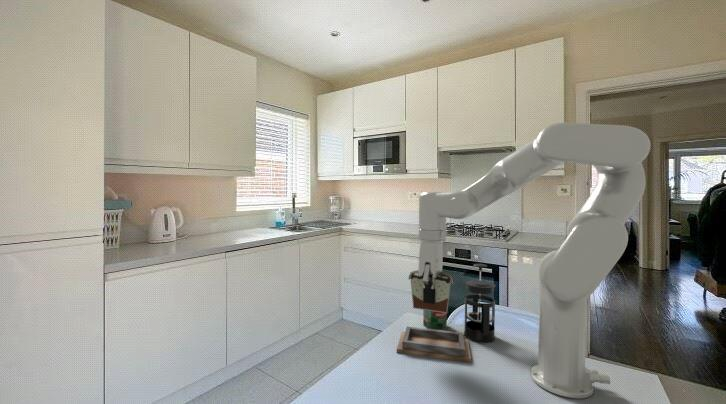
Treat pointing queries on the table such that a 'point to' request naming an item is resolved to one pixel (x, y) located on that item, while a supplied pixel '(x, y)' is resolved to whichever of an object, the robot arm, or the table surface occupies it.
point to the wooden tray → (434, 344)
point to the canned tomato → (434, 320)
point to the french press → (479, 321)
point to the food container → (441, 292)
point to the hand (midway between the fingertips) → (431, 299)
